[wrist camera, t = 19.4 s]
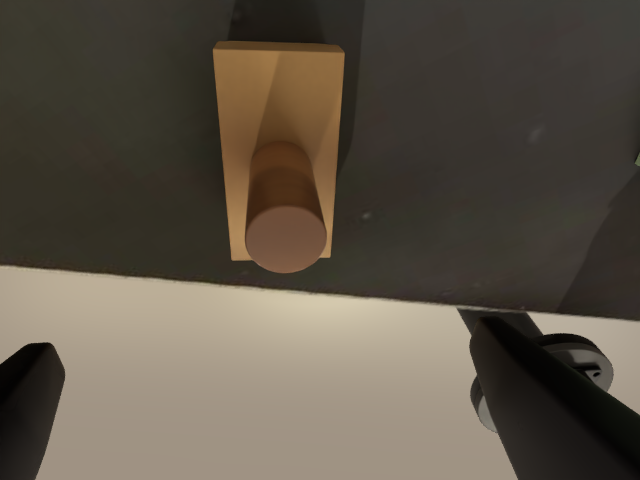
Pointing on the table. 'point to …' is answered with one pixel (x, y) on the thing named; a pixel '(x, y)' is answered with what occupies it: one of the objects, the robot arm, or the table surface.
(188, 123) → the table surface
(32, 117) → the table surface
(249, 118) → the brush
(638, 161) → the tray
